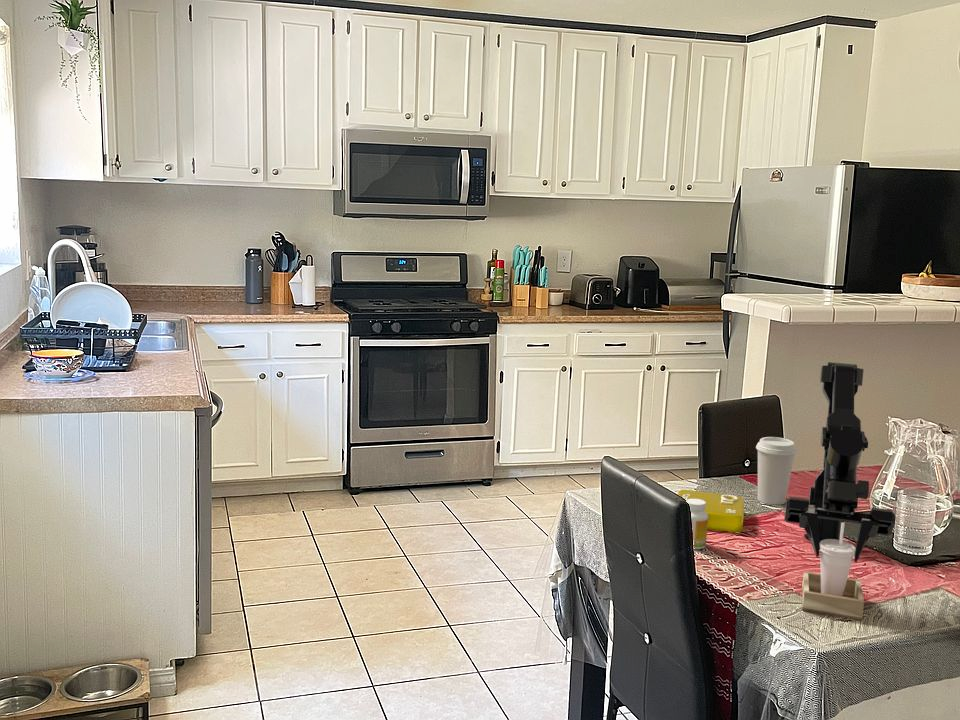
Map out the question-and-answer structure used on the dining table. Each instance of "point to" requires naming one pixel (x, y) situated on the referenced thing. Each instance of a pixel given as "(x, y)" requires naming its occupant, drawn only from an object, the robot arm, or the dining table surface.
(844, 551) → the smoothie
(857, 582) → the cup holder
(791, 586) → the dining table surface
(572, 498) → the dining table surface
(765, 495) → the coffee cup
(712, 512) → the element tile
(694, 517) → the supplement bottle
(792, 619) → the dining table surface
